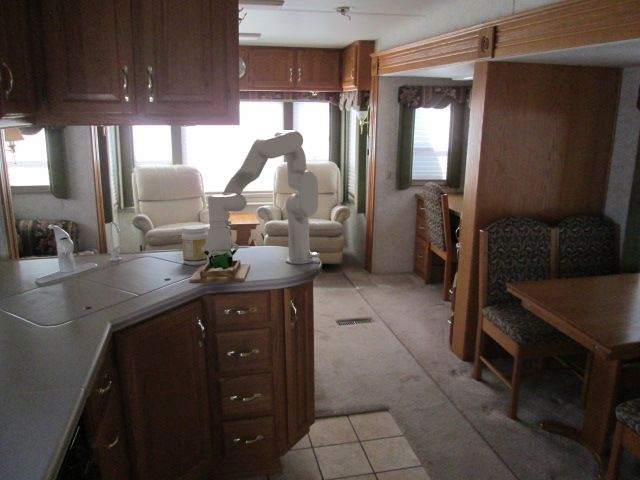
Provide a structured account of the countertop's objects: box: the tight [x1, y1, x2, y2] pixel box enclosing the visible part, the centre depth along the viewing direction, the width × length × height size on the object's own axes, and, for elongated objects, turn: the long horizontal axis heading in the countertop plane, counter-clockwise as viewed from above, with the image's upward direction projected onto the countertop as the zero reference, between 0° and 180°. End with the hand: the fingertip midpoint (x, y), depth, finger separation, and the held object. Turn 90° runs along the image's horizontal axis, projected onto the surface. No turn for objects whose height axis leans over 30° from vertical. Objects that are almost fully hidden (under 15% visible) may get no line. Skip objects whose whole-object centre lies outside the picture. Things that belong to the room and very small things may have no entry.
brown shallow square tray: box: [189, 259, 251, 283], centre depth 210 cm, size 22×22×4 cm
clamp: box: [211, 251, 229, 270], centre depth 209 cm, size 12×6×9 cm, turn 175°
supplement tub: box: [181, 224, 210, 266], centre depth 229 cm, size 12×12×17 cm
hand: (221, 265), depth 210 cm, fingers closed on clamp, 7 cm apart
